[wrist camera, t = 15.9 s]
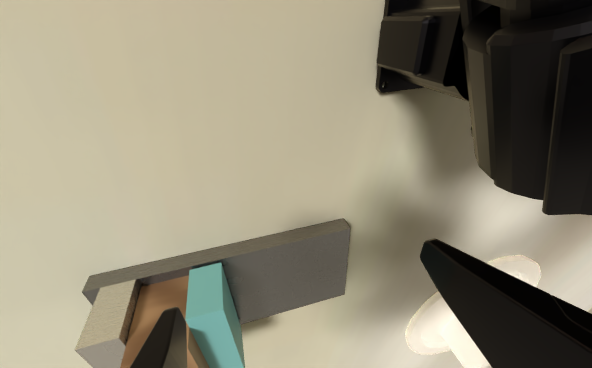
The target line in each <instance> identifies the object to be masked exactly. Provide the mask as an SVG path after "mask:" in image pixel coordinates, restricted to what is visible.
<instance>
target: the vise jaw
mask: <svg viewBox="0 0 592 368" xmlns="http://www.w3.org/2000/svg"><path fill="white" fill-rule="evenodd" d="M185 320H186V322H187V324H188V326H189V328H190V330H191V332H192V334H193V336H194V338H195V340H196V342H197V344H198V346H199V348H200V350H201V352H202V354H203V356H204V358H205V360H206V361H207V363H208V365H209V367H210V368H245V362H244V352H243V342H242V331H241V326H240V322H239V319H238V316H237V312H236V309H235V306H234V303H233V299H232V296H231V293H230V290H229V286H228V283H227V280H226V276H225V273H224V270H223V267H222V263H217V264H213V265H208V266H204V267H200V268H196V269H192V270H189V282H188V294H187V306H186V317H185Z"/></svg>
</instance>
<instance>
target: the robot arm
mask: <svg viewBox="0 0 592 368" xmlns="http://www.w3.org/2000/svg"><path fill="white" fill-rule="evenodd" d="M377 63H378V70H377V79H376V89H377V90H378V91H380V92H392V91H400V90H407V89H415V88H423V87H426V88H429V89H432V90H435V91H438V92H442V93H445V94H448V95H451V96H454V97H457V98H460V99H463V100H467V101H469V104H470V113H471V122H472V127H471V133H472V137H473V140H474V150H475V156H476V159H477V162H478V165H479V167H480V168H481V169H482V170H483V171H484V172H485V173H486V174H487V175H488V176H489V177H490V178H491V179H493V180H494V184H495V185H496V186H497V187H500V188H502V189H504V190H506V191H508V192H510V193H513V194H517V195H521V196H525V197H528V198H532V199H538V200H543V208H542V211H543V213H545V214H547V215H564V214H585V215H592V0H385V9H384V17H383V20H382V22H381V30H380V39H379V48H378V57H377ZM384 82H385V86H384V87H382V84H383V83H384ZM420 259H421V261H422V263H423V265H424V267H425V269H426V270H427V272H428V274H429V275H430V277H431V279H432V281H433V282H434V284H435V286H436V288H437V289H438V291H439V293H440V294H441V296H442V298H443V299H444V300H445V302H446V303H447V305H448V306H449V308H450V309H451V310H452V312H453V313H454V315H455V316H456V318H457V319H458V320H459V322H460V323H461V325H462V326H463V327H464V329H465V330H466V332H467V333H468V334H469V336H470V337H471V339H472V340H473V342H474V343H475V344H476V346H477V347H478V349H479V350H480V351H481V353H482V354H483V356H484V357H485V358H486V360H487V361H488V363H489V364H490V365H491V367H492V368H592V314H591V313H589V312H587V311H584V310H582V309H580V308H578V307H576V306H574V305H572V304H570V303H567V302H565V301H563V300H561V299H559V298H557V297H555V296H553V295H550V294H549V293H547V292H545V291H543V290H540V289H538V288H536V287H534V286H532V285H530V284H528V283H526V282H524V281H522V280H520V279H518V278H516V277H514V276H512V275H510V274H508V273H505V272H503V271H501V270H499V269H497V268H495V267H493V266H491V265H489V264H487V263H485V262H483V261H481V260H479V259H477V258H475V257H473V256H470V255H468V254H466V253H464V252H462V251H460V250H458V249H456V248H454V247H452V246H450V245H448V244H446V243H444V242H442V241H440V240H437V239H431V240H427V241H425V242H424V244H423V247H422V251H421V254H420ZM130 368H187V329H186V321H185V319H184V317H183V315H182V313H181V311H180V309H179V308H178V307H172V308H168V309H165V310H164V311H163V312H162V313H161V315H160V317H159V318H158V320H157V322H156V324H155V325H154V327H153V329H152V330H151V332H150V334H149V335H148V337H147V339H146V341H145V342H144V344H143V346H142V347H141V349H140V351H139V352H138V354H137V356H136V357H135V359H134V361H133V363H132V364H131V366H130Z"/></svg>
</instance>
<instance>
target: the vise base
mask: <svg viewBox="0 0 592 368" xmlns="http://www.w3.org/2000/svg"><path fill="white" fill-rule="evenodd" d="M349 238H350V227H349V226H348V224H347V223H346V221H345V220H344V218H343V219H339V220H335V221H330V222H326V223H321V224H317V225H313V226H308V227H304V228H299V229H295V230H291V231H286V232H282V233H277V234H273V235H269V236H264V237H260V238H255V239H251V240H247V241H242V242H238V243H233V244H229V245H225V246H220V247H216V248H211V249H207V250H203V251H198V252H194V253H190V254H185V255H181V256H176V257H172V258H168V259H163V260H159V261H154V262H150V263H146V264H141V265H137V266H132V267H128V268H124V269H119V270H115V271H110V272H106V273H102V274H97V275H93V276H89V278H88V280H87V282H86V284H85V287H84V289H83V291H82V293H83V294H84V295H85V297H86V298H87V299H88V300H89V302H90V303H91V304H92V305H93V307H92V309H91V312H90V314H89V316H88V319H87V321H86V324H85V326H84V329H83V331H82V333H81V336H80V338H79V341H78V343H77V346H76V348H75V351H76V352H77V353H78V354H79V355H80V356H81V357H82V358H83V359H85V360H86V361H87V362H88V363H89V364H90V365H91V366H92V367H93V368H120V366H121V362H122V359H123V355H124V351H125V347H126V343H127V339H128V336H129V332H130V328H131V324H132V320H133V316H134V312H135V309H136V305H137V301H138V297H139V293H140V289H141V287H142V286H147V285H151V284H155V283H159V282H163V281H167V280H171V279H175V278H180V277H184V276H188V275H189V270H192V269H196V268H200V267H204V266H208V265H213V264H217V263H222V267H223V270H224V273H225V276H226V280H227V283H228V286H229V290H230V293H231V296H232V299H233V303H234V306H235V309H236V312H237V316H238V319H239V322H240V324H244V323H247V322H251V321H254V320H258V319H261V318H265V317H268V316H271V315H275V314H278V313H282V312H285V311H289V310H292V309H296V308H299V307H303V306H306V305H309V304H313V303H316V302H320V301H323V300H327V299H330V298H334V297H337V296H341V295H344V294H345V284H346V272H347V261H348V249H349Z"/></svg>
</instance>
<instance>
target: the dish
mask: <svg viewBox="0 0 592 368" xmlns="http://www.w3.org/2000/svg"><path fill="white" fill-rule="evenodd" d="M486 263H487V264H489V265H491V266H493V267H495V268H497V269H499V270H501V271H503V272H505V273H508V274H510V275H512V276H514V277H516V278H518V279H520V280H522V281H524V282H526V283H528V284H530V285H532V286H534V287H537V285H538V282H539V280H540V277H541V271H540V267H539V264H538V263H536V262H535V261H534V260H532V259H530V258H527V257H525V256H523V255H514V256H505V257H500V258H497V259H494V260H491V261H489V262H486ZM405 336H406V341H407V344H408V346H409V348H410V349H411V350H413V351H414V352H416V353H418V354H428V355H433V354H438V353H442V352H446V351H450V350H452V351H453V353H454V354H455V356H456V357H457V358H458V360H459V361H460V362H461V364H462V365H463V367H464V368H492V367H491V365H490V364H489V363H488V361H487V360H486V358H485V357H484V356H483V354H482V353H481V351H480V350H479V349H478V347H477V346H476V344H475V343H474V342H473V340H472V339H471V337H470V336H469V334H468V333H467V332H466V330H465V329H464V327H463V326H462V325H461V323H460V322H459V320H458V319H457V318H456V316H455V315H454V313H453V312H452V310H451V309H450V308H449V306H448V305H447V303H446V302H445V300H444V299H443V298H442V296H441V294H440V293H439V291H437V292H436V293H435V294H434V295H432V296H431V297H430V298H429V299H428V300H426V302H425V303H424V304H423V305H422V306H421V308H420V309H419V310H418V311H417V312H416V313H415V315H414V316H413V317H412V318H411V321H410V323H409V325H408V327H407V330H406V332H405Z"/></svg>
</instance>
